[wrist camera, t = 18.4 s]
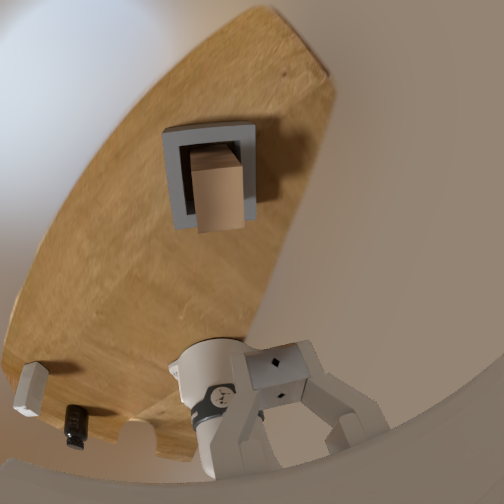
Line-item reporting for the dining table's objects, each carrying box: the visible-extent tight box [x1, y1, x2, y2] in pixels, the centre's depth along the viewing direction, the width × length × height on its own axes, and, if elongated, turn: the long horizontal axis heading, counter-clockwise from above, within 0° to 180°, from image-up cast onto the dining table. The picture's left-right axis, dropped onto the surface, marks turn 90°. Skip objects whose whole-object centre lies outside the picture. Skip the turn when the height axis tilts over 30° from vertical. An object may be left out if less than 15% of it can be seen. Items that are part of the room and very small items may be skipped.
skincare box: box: [13, 361, 49, 416], centre depth 37 cm, size 6×4×12 cm
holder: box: [162, 121, 256, 230], centre depth 28 cm, size 10×9×4 cm
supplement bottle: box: [64, 405, 89, 450], centre depth 48 cm, size 7×7×12 cm
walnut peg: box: [190, 144, 244, 234], centre depth 26 cm, size 4×6×10 cm
